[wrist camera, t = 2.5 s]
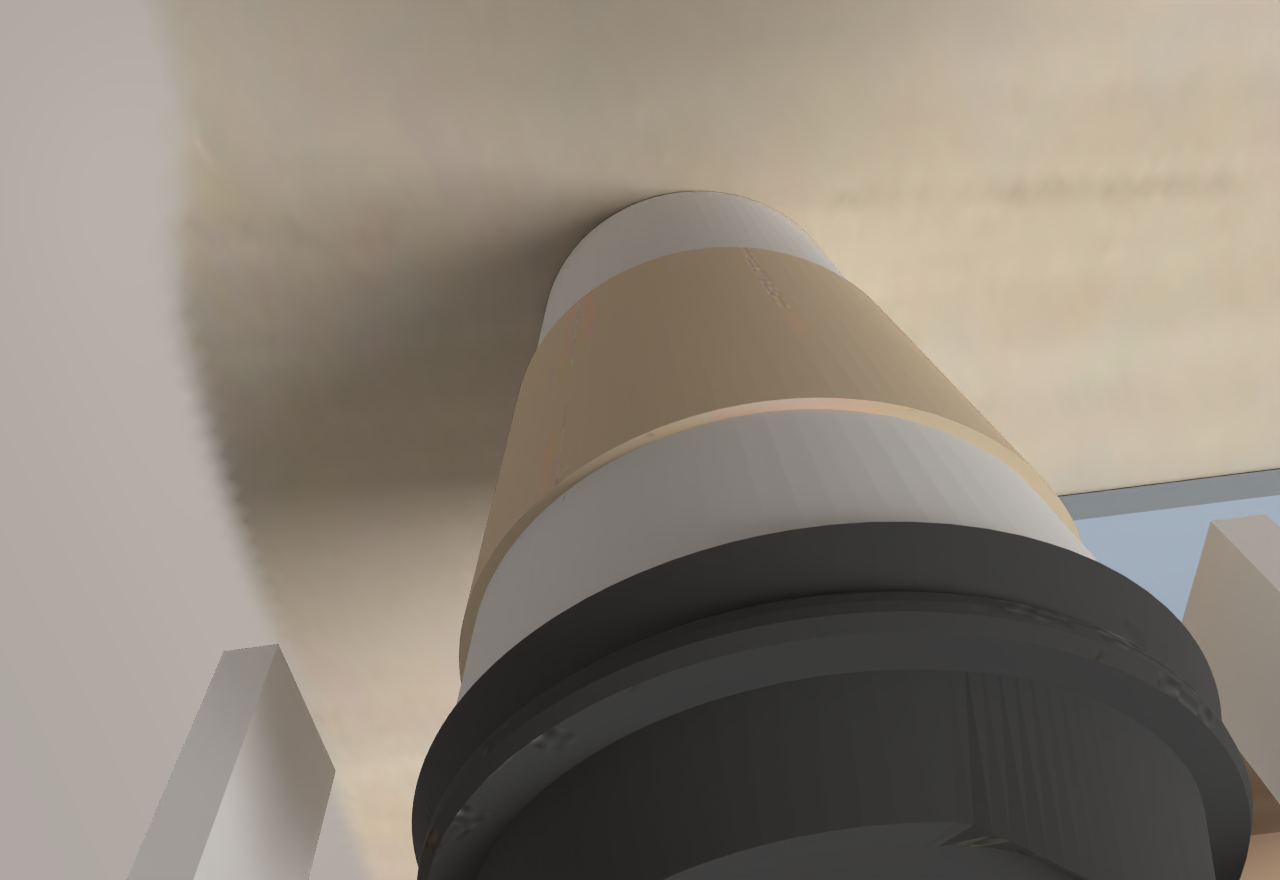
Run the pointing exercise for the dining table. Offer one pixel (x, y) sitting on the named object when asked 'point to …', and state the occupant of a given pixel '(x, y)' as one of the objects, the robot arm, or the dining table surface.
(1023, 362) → the dining table surface
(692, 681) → the coffee cup
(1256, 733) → the robot arm
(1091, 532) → the board
